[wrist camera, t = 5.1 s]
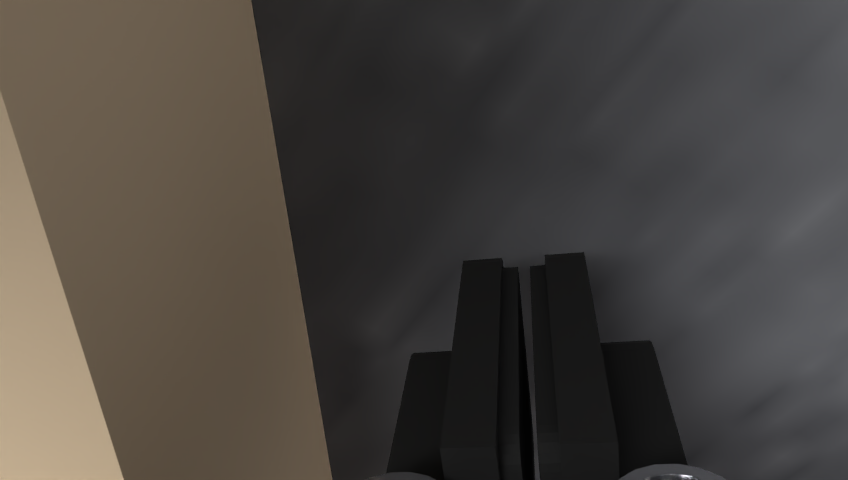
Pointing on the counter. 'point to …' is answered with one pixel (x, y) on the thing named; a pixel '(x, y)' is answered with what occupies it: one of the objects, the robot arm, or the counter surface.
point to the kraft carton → (146, 251)
